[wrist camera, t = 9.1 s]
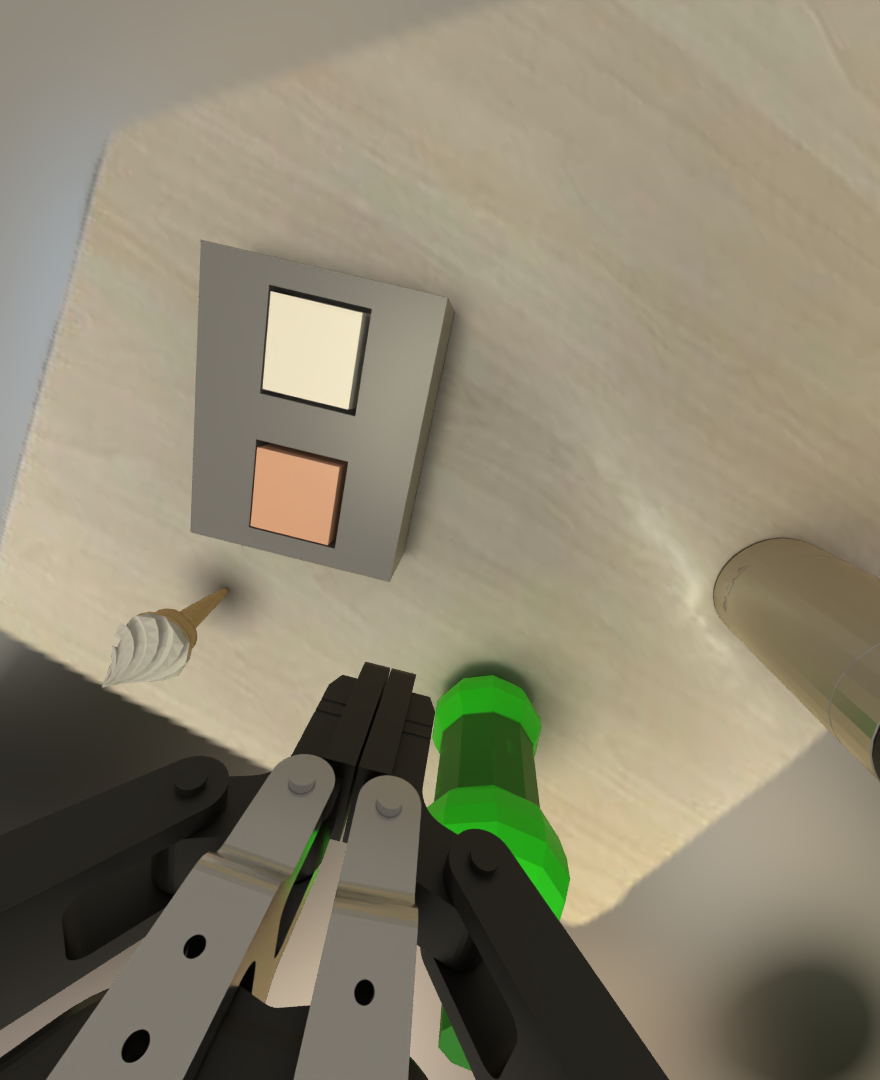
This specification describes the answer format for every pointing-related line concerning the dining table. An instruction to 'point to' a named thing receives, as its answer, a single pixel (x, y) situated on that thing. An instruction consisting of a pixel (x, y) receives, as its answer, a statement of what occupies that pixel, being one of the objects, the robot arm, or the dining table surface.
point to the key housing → (313, 406)
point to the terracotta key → (298, 493)
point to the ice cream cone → (158, 643)
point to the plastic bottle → (495, 789)
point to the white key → (315, 351)
